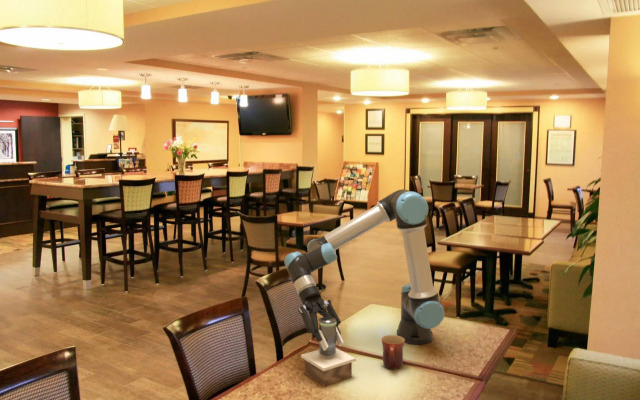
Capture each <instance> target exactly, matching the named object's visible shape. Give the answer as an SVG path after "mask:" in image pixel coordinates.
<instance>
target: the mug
mask: <svg viewBox="0 0 640 400" xmlns="http://www.w3.org/2000/svg"><path fill="white" fill-rule="evenodd" d="M380 341H381V344H382V363H383V367H385V368H386V369H388V370H389V369H390V370H398V369H400V368H402V367H403V362H404V350H403V349H404V346H405V345H404V344H405V339H404V338H403V337H400V336H397V334H395V335H394V334H390V335H389V334H388V335H384V336H382V337H381V339H380Z"/></svg>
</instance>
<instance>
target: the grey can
mask: <svg viewBox="0 0 640 400" xmlns="http://www.w3.org/2000/svg"><path fill="white" fill-rule="evenodd" d="M318 329H319V330H321V331H322V333H323V336H324V338H325V340H326V342H327V344H328V346H329V347H328V348H327V349H326V350H325V351H324V350H323V348H322V346H321V344H320V342H318V350H319V353H320V354H321V355H324V356H331V355H334V354H336V348H337V341H336V319H335V318H332V317H323V316H322V317H320V318H319V319H318ZM319 330H318V331H319Z"/></svg>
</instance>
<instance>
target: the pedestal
mask: <svg viewBox="0 0 640 400" xmlns="http://www.w3.org/2000/svg"><path fill="white" fill-rule="evenodd" d="M300 358H301V359H303V360H304V374H305V376H308V377H310V378H311V379H313V380H314V381H315V382H318V384H320V385H322V386H323V385H324V386H323V387H327V386H329V385H332V384H335V383H338V382H341V381H344V380H347V379H349V378H352V377H353V376H352V375H353V374H352V370H353V369H352V368H353V367H352V366H353V365H352V364H353V363H354V362H356V360H357V359H356V357H354V356H353V355H350V354H349V353H346V352H345V351H343V350H340V349H339V348H337V347H336V354H334V355H331V356H324V355H321V354H320V353H319V349H315V350H313V351H309V352H306V353H303V354H300Z"/></svg>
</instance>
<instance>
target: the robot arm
mask: <svg viewBox="0 0 640 400" xmlns="http://www.w3.org/2000/svg"><path fill="white" fill-rule="evenodd" d="M428 214H429V205H428V202H427V200H426V199H425V198H424V197H423V196H422V195H421V194H420V193H418V192H416V191H411V190H409V189H404V188H403V189H398V190H395V191H393V192H391V193H390V194H387V196H385V197H384V198H382V199H380V200H378V201H377V202H376V204H375V206H373V207H371V208H369V209H368V210H366V211H364V212H362V213H361V214H359V215H357V216H355V217H354V218H352V219H350V220H348V221H347V222H345V223H343V224H341V225H339V226H338V227H336V228H334V229H333V230H331V231H329V232H327V233H326V234H324V235H322V236H320V237H319V238H314V239H312V240H310V241H309V242H308V243H307V246H306V248H307V249H306V251H307V252H306V253H304V254H302V253H301V252H300V251H294V252H291V253H288V254H287V255H286V256H285V258H284V260H283V262H284V265H285V268H286V270H287V273H288V275H289V277H290V280H291V282H292V283H293V286H294V288H295V291H296V292H297V294H298V297H299V299H300V301H301V303H302V304H303V305H300V307H299V308H298V309H297V312H298V313H299V314H300V315H301V318H302V320H303V321H302V322H303V323H304V326H305V329H306V331H307V333H308V334H311V335H312V336H315V339H316V340H317V342H318V343H319V342H320V344H321V346H322V348H323V350H324V351H325V350H326V349H327V348H328V347H329V346H328V344H327V342H326V340H325V338H324V336H323V333H322V331H321V330H319V322H318V319H317V318H318V317H317V314H318V315H320V316H322V318H323V317H332V318H335V319H336V344H337V345H338V347H341V346H343V344H345V343H344V340H343V338H342V333H341V330H340V328H339V325H340V324H341V323H342V322H341V321H342V320H341V319H340V318H339V316H338V314H337V312H336V311H335V309H334V307H333V305H332V300H330V299H328V300H324V299H323V298H322V295H321V292H320V290H319V287H318V286H317V283H316V282H315V279H314V277H313V276H312V274H311V273H313V272H315V271H318V270H319V269H321V268H324V267H326V266H328V265H331V264H332V263H333V262H335V261H337V259H338V255H337V254H336V250H338V249H340V248H341V247H343V246H345V245H347V244H348V243H350V242H353V241H354V240H355V239H357V238H359V237H361V236H363V235H365V234H366V233H368V232H370V231H371V230H373V229H375V228H376V227H378V226H380V225H382V224H383V223H386V222H387V223H390V222H392V221H394V220H395V222H396V228H397V229H398V230H399V231H400V232H401V234H402V240H403V246H404V252H405V258H406V259H405V260H406V263H407V271H408V277H409V284H403V285H402V287H401V291H400V295H401V296H400V297H401V298H400V302H401V303H400V305H401V306H400V307H401V308H400V309H401V310H400V321H399V324H398V327H397V328H398V329H396V336H400V337H403V338H404V339H405V343H406V344H411V345H425V344H428V343H431V342H432V341H433V337H434V336H433V335H434V334H433V331H432V329H434V328H436V327H438V326H439V325H440V324H441V323H442V322H443V321H444V318H445V309H444V307H443V305H442V304H441V302H440V297H439V291H438V289H437V288H435V287H434V283H433V277H432V271H431V265H430V259H429V252H428V245H427V244H428V243H427V239H426V231H425V228H426V227H427V226H428V221H427V220H428V219H427V216H428ZM405 343H404V344H405Z"/></svg>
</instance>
